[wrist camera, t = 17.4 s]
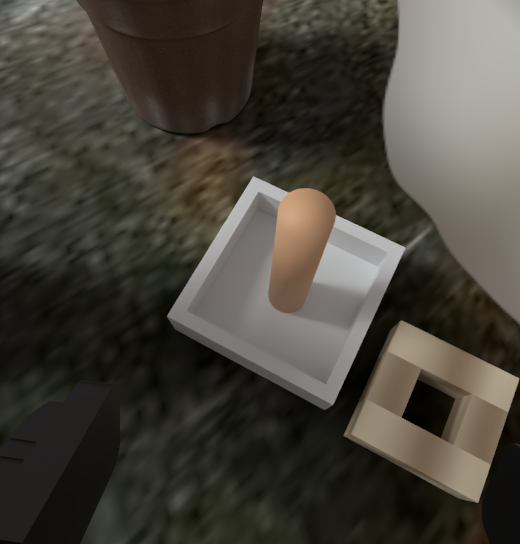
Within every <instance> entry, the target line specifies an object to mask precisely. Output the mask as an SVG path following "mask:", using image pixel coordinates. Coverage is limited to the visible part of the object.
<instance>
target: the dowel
mask: <svg viewBox="0 0 520 544" xmlns="http://www.w3.org/2000/svg"><path fill="white" fill-rule="evenodd" d="M335 219H336V212H335V208H334V205H333V203H332V202H331V200H330V199H329V198H328V197H327V196H326V195H325V194H323V193H322V192H320V191H317V190H314V189H309V188H302V189H297V190H294V191H292V192H290V193H288V194H287V195H286V196H285V197H284V198H283V199H282V201H281V202H280V205H279V208H278V214H277V223H276V231H275V240H274V248H273V257H272V265H271V274H270V282H269V291H268V297H269V301H270V303H271V304H272V306H273V307H274V308H275V309H277V310H278V311H280V312H284V313H291V312H295V311H297V310H299V309H300V308H301V307H302V306H303V304H304V303H305V300H306V298H307V295H308V292H309V290H310V287H311V284H312V282H313V279H314V276H315V274H316V271H317V268H318V266H319V263H320V260H321V258H322V255H323V252H324V250H325V247H326V244H327V242H328V239H329V236H330V234H331V231H332V228H333V226H334V223H335Z"/></svg>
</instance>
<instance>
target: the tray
mask: <svg viewBox="0 0 520 544" xmlns="http://www.w3.org/2000/svg"><path fill="white" fill-rule="evenodd" d="M287 194H288V192H286V191H284V190H281V189H279V188H277V187H275V186H273V185H271V184H269V183H266V182H264V181H262V180H260V179H258V178H256V177H254V176H253V178H252V180H251V181H250V183H249V184H248V186H247V188H246V189H245V191H244V192H243V194H242V196H241V197H240V199H239V201H238V202H237V204H236V205H235V207H234V209H233V210H232V212H231V213H230V215H229V217H228V218H227V220H226V222H225V223H224V225H223V226H222V228H221V230H220V231H219V233H218V234H217V236H216V238H215V239H214V241H213V243H212V244H211V246H210V247H209V249H208V251H207V252H206V254H205V255H204V257H203V259H202V260H201V262H200V264H199V265H198V267H197V268H196V270H195V272H194V273H193V275H192V276H191V278H190V280H189V281H188V283H187V285H186V286H185V288H184V289H183V291H182V293H181V294H180V296H179V297H178V299H177V301H176V302H175V304H174V306H173V307H172V309H171V310H170V312H169V314H168V315H167V317H168V319H169V320H170V322H171V324H172V325H173V327H174V329H175V330H177V331H179V332H180V333H182V334H184V335H186V336H188V337H190V338H192V339H193V340H195V341H197V342H199V343H201V344H203V345H205V346H206V347H208V348H210V349H212V350H214V351H216V352H218V353H219V354H221V355H223V356H225V357H227V358H229V359H231V360H232V361H234V362H236V363H238V364H240V365H242V366H244V367H246V368H247V369H249V370H251V371H253V372H255V373H257V374H259V375H260V376H262V377H264V378H266V379H268V380H270V381H272V382H273V383H275V384H277V385H279V386H281V387H283V388H285V389H286V390H288V391H290V392H292V393H294V394H296V395H298V396H299V397H301V398H303V399H305V400H307V401H309V402H311V403H312V404H314V405H316V406H318V407H320V408H322V409H324V410H326V409H327V408H329V407H331V406H332V405H333V404H334V402H335V400H336V398H337V396H338V393H339V391H340V389H341V387H342V385H343V383H344V380H345V378H346V376H347V374H348V372H349V369H350V367H351V365H352V363H353V361H354V359H355V356H356V354H357V352H358V350H359V348H360V346H361V343H362V341H363V339H364V337H365V335H366V333H367V330H368V328H369V326H370V324H371V322H372V319H373V317H374V315H375V313H376V311H377V309H378V306H379V304H380V302H381V300H382V298H383V296H384V293H385V291H386V289H387V287H388V285H389V283H390V280H391V278H392V276H393V274H394V272H395V269H396V267H397V265H398V263H399V261H400V259H401V256H402V254H403V252H404V250H405V247H403V246H401V245H398V244H396V243H394V242H392V241H390V240H388V239H386V238H384V237H381V236H379V235H377V234H375V233H373V232H371V231H369V230H367V229H364V228H362V227H360V226H358V225H356V224H354V223H352V222H350V221H347V220H345V219H343V218H341V217H339V216H337V215H336V219H335V223H334V226H333V228H332V231H331V234H330V236H329V239H328V242H327V244H326V247H325V250H324V252H323V255H322V258H321V260H320V263H319V266H318V268H317V271H316V274H315V276H314V279H313V282H312V284H311V287H310V290H309V292H308V295H307V298H306V300H305V303H304V304H303V306H302V307H301V308H300V309H299V310H297V311H295V312H291V313H284V312H280V311H278V310H277V309H275V308H274V307H273V306H272V304H271V303H270V301H269V297H268V291H269V282H270V274H271V265H272V257H273V248H274V240H275V231H276V223H277V214H278V208H279V205H280V202H281V201H282V199H283V198H284V197H285V196H286V195H287Z"/></svg>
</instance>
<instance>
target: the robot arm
mask: <svg viewBox="0 0 520 544" xmlns="http://www.w3.org/2000/svg"><path fill="white" fill-rule="evenodd" d="M119 446H120V395H119V387H118V385H116V384H109V383H102V382H95V381H89V380H80V381H79V382H78V383H77V384H76V385H75V387H74V388H73V389H72V391H71V392H70V394H69V395H68V397H67V398H66V400H65V401H64V403H59V402H52V401H49V402H47V403H46V404H44V405H43V406H41V407H40V408H38V409H37V410H35V411H34V412H33V413H31V414H30V415H28V416H27V417H26V418H25V419H24V420H23V421H22V423H21V424H20V425H19V427H18V428H17V429H16V431H15V432H14V433H13V435H12V436H11V437H10V441H9V442H6V444H5V445H4V446H3V448H2V449H1V450H0V544H80V543H81V540H82V538H83V536H84V534H85V532H86V529H87V527H88V525H89V523H90V521H91V518H92V516H93V514H94V512H95V510H96V507H97V505H98V503H99V501H100V499H101V496H102V494H103V492H104V490H105V488H106V486H107V483H108V481H109V479H110V477H111V475H112V472H113V470H114V467H115V464H116V461H117V457H118V452H119ZM482 519H483V525H484V528H485V531H486V534H487V536H488V539H489V542H490V544H520V444H515V443H509V444H508V445H506V446H505V448H504V450H503V452H502V454H501V456H500V459H499V461H498V463H497V465H496V468H495V470H494V472H493V475H492V477H491V479H490V482H489V484H488V486H487V489H486V491H485V493H484V496H483V500H482Z"/></svg>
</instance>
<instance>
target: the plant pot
mask: <svg viewBox="0 0 520 544" xmlns="http://www.w3.org/2000/svg"><path fill="white" fill-rule="evenodd" d="M77 2H78V3H79V5H80V6H81V7H82V8H83V9H84V10H85V11H86V12H87V14H88V16H89V18H90V20H91V22H92V24H93V26H94V29H95V31H96V33H97V35H98V37H99V39H100V41H101V44H102V46H103V48H104V50H105V52H106V54H107V56H108V58H109V60H110V63H111V65H112V67H113V69H114V71H115V73H116V75H117V77H118V80H119V82H120V84H121V86H122V88H123V90H124V93H125V95H126V98H127V100H128V102H129V103H130V105H131V106H132V108H133V109H134V111H135V112H136V114H137V115H138V116H139V117H141V118H142V119H143V120H144V121H146V122H147V123H149V124H151V125H153V126H154V127H157V128H159V129H162V130H165V131H169V132H174V133H183V134H192V133H202V132H206V131H208V130H209V129H210V128H212V127H213V126H216V125H218V124H222V123H228V122H229V121H230V120H232V119H233V118H234V117H235V116H236V115H238V114H239V113H240V111H241V110H242V109H243V107H244V106H245V104H246V103H247V101H248V99H249V96H250V94H251V90H252V85H253V75H254V66H255V58H256V50H257V42H258V33H259V25H260V18H261V11H262V4H263V0H77Z"/></svg>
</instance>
